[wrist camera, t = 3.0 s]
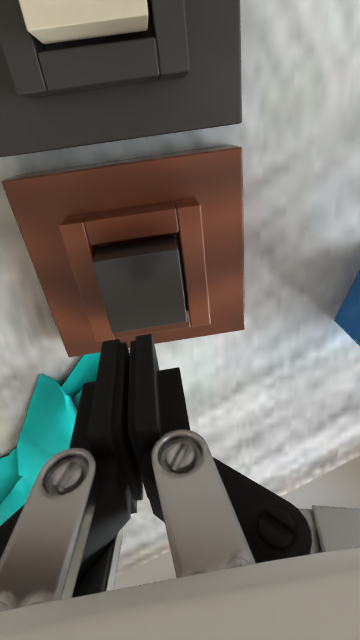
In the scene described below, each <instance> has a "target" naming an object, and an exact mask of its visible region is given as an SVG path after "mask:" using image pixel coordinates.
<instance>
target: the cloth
mask: <svg viewBox="0 0 360 640" xmlns="http://www.w3.org/2000/svg"><path fill="white" fill-rule="evenodd" d="M100 354H101V352H99V353H92V354H86V355H84V356H83V357H82V358H81V359H80V361H79V362H78V364H77V365H76V367H75V368H74V370H73V371H72V372H71V374H70V375H69V377H68V378H67V380H66V381H65V382H64V383H63V385H62V386H61V387H60V385H59V383H58V382H57V381H54V380H52V379H50V378H48V377H46V376H44V375H42V374H41V375H40V377H39V380H38V382H37V385H36V388H35V391H34V394H33V397H32V399H31V402H30V405H29V408H28V412H27V415H26V418H25V422H24V425H23V428H22V431H21V434H20V437H19V440H18V443H17V448H15V449H14V450H12V451H11V452H10V455H7V456H4V457H1V458H0V526H1V525H2V524H3V523H4V522H5V521H6V520H7V519H8V518H10V517H11V516H12V515H13V514H14V513H15V512H16V511H17V510H18V509H20V508H21V507H22V506H23V505H24V504H25V503H26V500H27V498H28V496H29V494H30V491H31V489H32V487H33V485H34V482H35V480H36V478H37V476H38V474H39V472H40V470H41V469H42V467H43V465H44V464H45V463H46V462H47V461H48V460H49V459H50V458H52V457H53V456H54V455H56V454H57V453H59V452H61V451H64V450H66V449H69V447H70V442H71V437H72V433H73V428H74V424H75V419H76V414H77V410H78V405H79V401H80V396H81V392H82V387H83V385H84V384H85V383H88V382H94V381H96V377H97V371H98V366H99V360H100Z"/></svg>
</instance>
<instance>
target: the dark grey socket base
mask: <svg viewBox="0 0 360 640" xmlns="http://www.w3.org/2000/svg"><path fill="white" fill-rule="evenodd" d="M147 6H148V29H147V31H140V32H133V33H125V34H118V35H110V36H103V37H95V38H88V39H80V40H72V41H65V42H57V43H50V44H43V43H42V42H40V41H39V40H38V39H37V38H36V37H34V36H33V35H32V34H31V33H30V32H28V31H27V28H26V25H25V21H24V18H23V14H22V11H21V7H20V3H19V0H0V157H6V156H13V155H20V154H27V153H34V152H41V151H48V150H56V149H63V148H70V147H77V146H84V145H91V144H98V143H105V142H112V141H119V140H126V139H133V138H140V137H148V136H155V135H162V134H169V133H176V132H183V131H190V130H197V129H204V128H211V127H218V126H225V125H232V124H240V123H241V122H242V99H241V32H240V0H147Z"/></svg>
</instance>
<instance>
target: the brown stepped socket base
mask: <svg viewBox="0 0 360 640" xmlns="http://www.w3.org/2000/svg"><path fill="white" fill-rule="evenodd" d="M2 185H3V187H4V190H5V192H6V195H7V198H8V200H9V203H10V205H11V208H12V211H13V213H14V216H15V218H16V221H17V224H18V226H19V229H20V231H21V234H22V237H23V239H24V242H25V245H26V247H27V250H28V252H29V255H30V258H31V260H32V263H33V265H34V268H35V271H36V273H37V276H38V278H39V281H40V284H41V286H42V289H43V291H44V294H45V297H46V299H47V302H48V304H49V307H50V310H51V312H52V315H53V317H54V320H55V323H56V325H57V328H58V330H59V333H60V336H61V338H62V341H63V344H64V346H65V349H66V351H67V354H68V356H69V357H73V356H80V355H86V354H92V353H99V352H101V348H102V343H103V341H109V340H115V339H120V341H121V343H123V342H126V343H127V346H128V348H130V342H131V341H135V340H136V336H140V335H146V334H152V336H153V341H154V344H156V343H162V342H169V341H175V340H181V339H188V338H194V337H200V336H207V335H213V334H220V333H226V332H232V331H239V330H244V329H245V303H244V236H243V169H242V147H239V146H234V145H226V146H219V147H212V148H205V149H198V150H191V151H184V152H177V153H170V154H163V155H156V156H149V157H142V158H135V159H128V160H121V161H114V162H107V163H100V164H93V165H86V166H79V167H72V168H65V169H58V170H51V171H44V172H37V173H30V174H23V175H16V176H14V177H11V178H9V179H6V180H4V181H2ZM173 236H174V237H175V240H176V244H177V247H178V251H179V259H180V267H181V275H182V283H183V291H184V299H185V307H186V315H187V322H182V323H176V324H169V325H163V326H156V327H150V328H144V329H137V330H131V331H124V332H118V333H112V332H111V328H110V325H109V321H108V318H107V314H106V311H105V307H104V303H103V300H102V296H101V293H100V289H99V286H98V282H97V278H96V275H95V271H94V268H93V264H92V261H93V258H94V256H95V253H96V250H97V248H99V247H106V246H113V245H119V244H126V243H133V242H139V241H146V240H153V239H160V238H166V237H173Z"/></svg>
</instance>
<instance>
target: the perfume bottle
mask: <svg viewBox="0 0 360 640" xmlns="http://www.w3.org/2000/svg"><path fill="white" fill-rule="evenodd" d="M334 321H335V322H336V323H337V324H338V325H339V326H340V327H341V328H342V329H343V330H344V331H345V332H346V333H347V334H348V335H349V336H350V337H351V338H352V339H353V340H354V341H355V342H356V343H357V344H358V345H359V346H360V272H359V273H358V275H357V277H356V279H355V281H354V283H353V285H352V287H351V289H350V291H349V293H348V295H347V297H346V299H345V301H344V303H343V305H342V307H341V309H340V311H339V313H338V315H337V316H336V318H335V320H334Z"/></svg>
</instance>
